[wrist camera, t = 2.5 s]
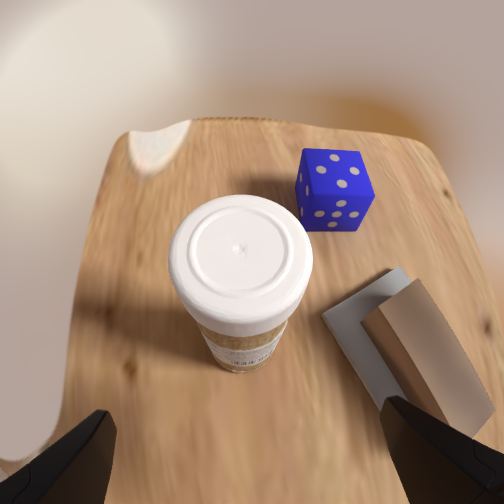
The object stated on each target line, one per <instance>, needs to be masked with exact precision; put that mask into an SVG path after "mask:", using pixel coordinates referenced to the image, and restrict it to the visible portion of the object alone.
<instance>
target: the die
mask: <svg viewBox="0 0 504 504" xmlns="http://www.w3.org/2000/svg"><path fill="white" fill-rule="evenodd" d="M295 189H296V196H297V202H298V209H299V216H300V223H301V225H302V226H303V228H304V230H305V231H356V230H357V229H358V227H359V225H360V224H361V222H362V220H363V218H364V216H365V214H366V212H367V211H368V209H369V207H370V205H371V203H372V201H373V199H374V197H375V194H374V191H373V188H372V185H371V182H370V179H369V176H368V174H367V171H366V168H365V165H364V162H363V160H362V157H361V154H360V152H358V151H345V150H330V149H310V148H304V149H303V150H302V155H301V161H300V166H299V170H298V175H297V180H296V185H295Z"/></svg>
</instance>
